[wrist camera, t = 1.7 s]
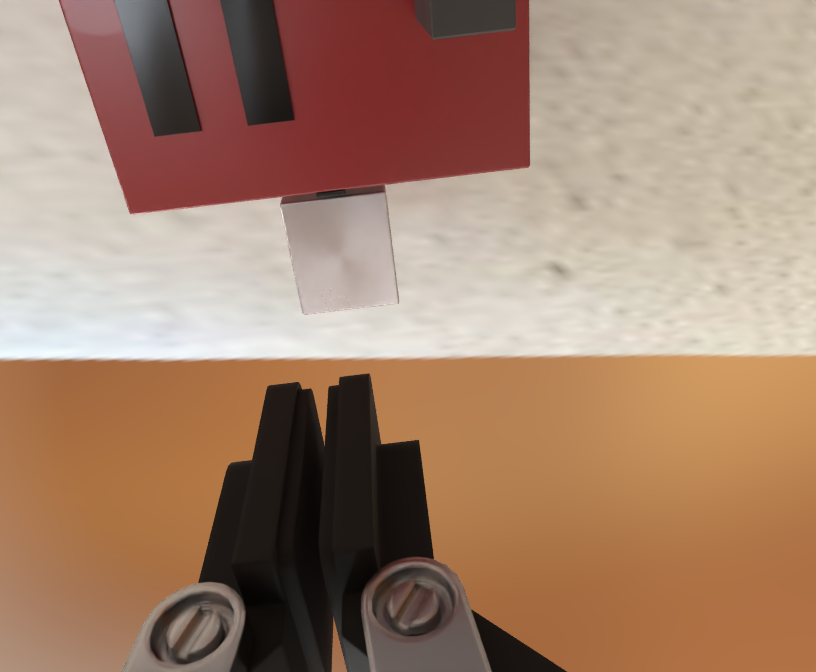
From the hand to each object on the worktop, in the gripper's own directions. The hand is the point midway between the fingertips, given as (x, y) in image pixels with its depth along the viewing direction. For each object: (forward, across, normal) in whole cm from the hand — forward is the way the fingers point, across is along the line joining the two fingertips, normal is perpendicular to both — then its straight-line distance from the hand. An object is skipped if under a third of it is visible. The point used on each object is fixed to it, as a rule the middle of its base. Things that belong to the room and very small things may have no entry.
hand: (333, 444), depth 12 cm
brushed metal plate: (+10, 0, 0) cm, 10 cm away
